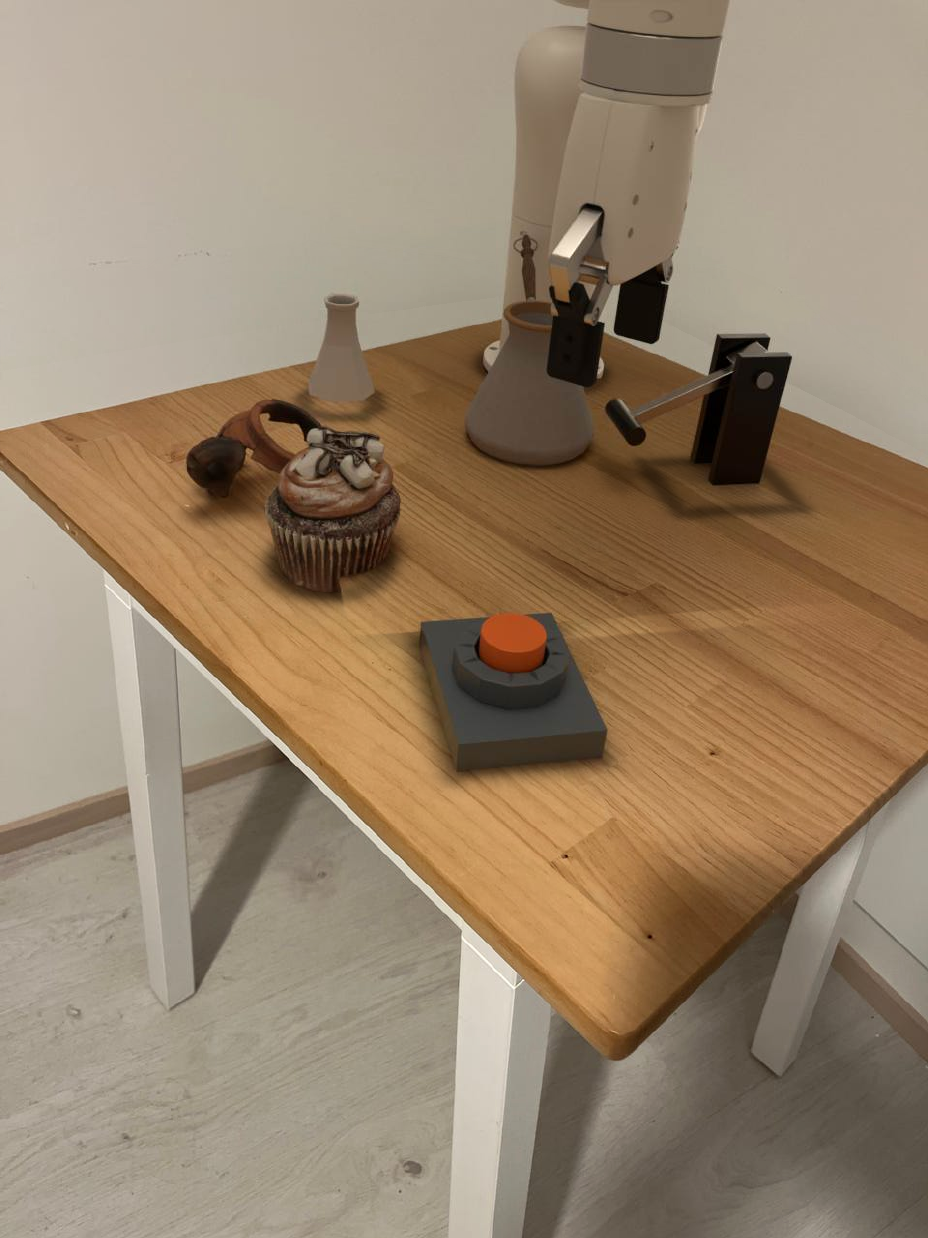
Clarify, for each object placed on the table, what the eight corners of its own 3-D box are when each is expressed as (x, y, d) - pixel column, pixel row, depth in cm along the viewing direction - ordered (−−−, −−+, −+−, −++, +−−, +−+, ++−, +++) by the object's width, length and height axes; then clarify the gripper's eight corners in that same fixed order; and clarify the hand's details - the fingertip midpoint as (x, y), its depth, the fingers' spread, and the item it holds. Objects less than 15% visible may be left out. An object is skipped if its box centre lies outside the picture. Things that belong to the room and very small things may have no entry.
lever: (630, 453, 87) (622, 428, 85) (609, 423, 91) (601, 399, 90) (782, 384, 86) (777, 359, 85) (753, 358, 90) (748, 333, 89)
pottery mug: (254, 454, 93) (299, 384, 89) (315, 535, 91) (365, 468, 87) (142, 466, 84) (185, 389, 79) (207, 557, 82) (256, 483, 77)
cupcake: (275, 526, 83) (271, 406, 77) (400, 532, 84) (405, 414, 78) (257, 596, 75) (251, 468, 70) (396, 603, 76) (401, 477, 70)
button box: (419, 647, 72) (422, 598, 69) (547, 638, 74) (554, 590, 71) (455, 772, 62) (460, 720, 60) (602, 757, 64) (612, 706, 62)
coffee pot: (599, 486, 92) (626, 316, 83) (465, 481, 91) (479, 308, 82) (566, 385, 109) (587, 235, 101) (454, 380, 108) (465, 228, 100)
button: (472, 637, 67) (474, 614, 66) (533, 633, 68) (537, 610, 67) (487, 677, 64) (489, 654, 63) (551, 672, 65) (554, 649, 64)
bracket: (681, 513, 89) (713, 368, 82) (644, 463, 96) (670, 324, 89) (801, 507, 92) (842, 365, 84) (756, 458, 99) (791, 323, 91)
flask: (313, 382, 106) (312, 281, 100) (385, 391, 105) (388, 290, 99) (294, 413, 100) (291, 307, 94) (370, 422, 99) (372, 317, 93)
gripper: (649, 45, 68) (609, 312, 78) (515, 69, 55) (487, 383, 65) (763, 62, 65) (706, 337, 75) (648, 92, 52) (598, 417, 62)
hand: (604, 358), depth 70 cm, fingers open, 9 cm apart
